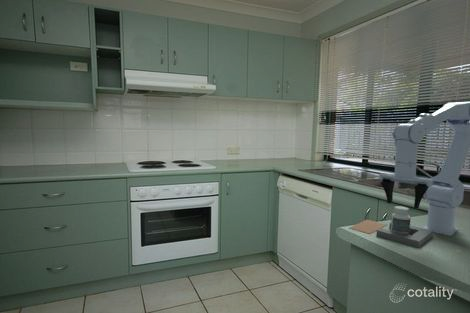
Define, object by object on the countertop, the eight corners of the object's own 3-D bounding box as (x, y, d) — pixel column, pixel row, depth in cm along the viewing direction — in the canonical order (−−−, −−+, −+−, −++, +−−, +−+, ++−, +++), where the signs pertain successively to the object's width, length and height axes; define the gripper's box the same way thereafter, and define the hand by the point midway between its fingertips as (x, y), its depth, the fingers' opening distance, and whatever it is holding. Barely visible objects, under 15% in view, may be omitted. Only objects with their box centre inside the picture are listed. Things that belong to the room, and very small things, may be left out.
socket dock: (392, 226, 100) (393, 221, 100) (432, 236, 91) (432, 230, 91) (376, 235, 91) (376, 230, 91) (418, 247, 82) (419, 241, 82)
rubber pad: (367, 219, 107) (367, 219, 107) (387, 224, 102) (387, 224, 102) (348, 228, 98) (348, 227, 98) (369, 234, 92) (369, 233, 92)
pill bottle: (412, 238, 89) (414, 210, 88) (393, 237, 90) (396, 209, 89) (405, 232, 94) (407, 206, 93) (388, 231, 95) (389, 205, 94)
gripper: (376, 161, 92) (373, 202, 93) (429, 166, 81) (425, 212, 83) (385, 159, 97) (382, 199, 98) (436, 164, 86) (432, 208, 87)
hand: (402, 205), depth 91 cm, fingers open, 7 cm apart
